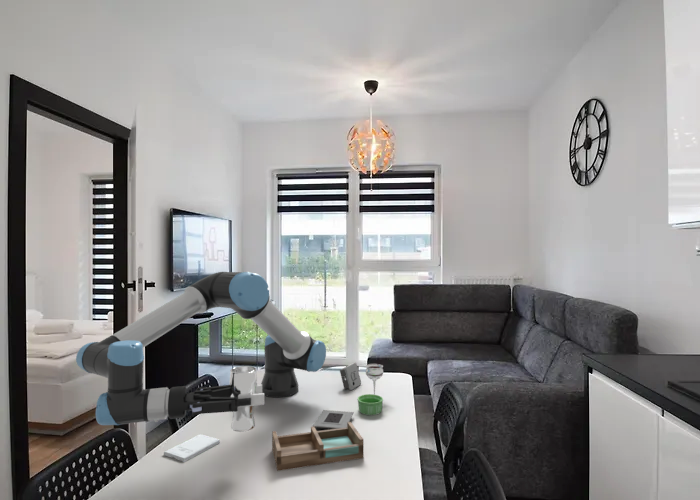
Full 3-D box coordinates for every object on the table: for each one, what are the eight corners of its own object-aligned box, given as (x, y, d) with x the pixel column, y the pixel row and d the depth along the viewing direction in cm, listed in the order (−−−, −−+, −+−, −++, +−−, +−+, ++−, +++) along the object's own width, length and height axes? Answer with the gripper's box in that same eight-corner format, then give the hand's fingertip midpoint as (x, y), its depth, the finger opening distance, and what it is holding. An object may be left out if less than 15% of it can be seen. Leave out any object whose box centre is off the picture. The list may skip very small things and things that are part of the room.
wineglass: (371, 393, 161) (371, 362, 161) (386, 396, 157) (386, 365, 157) (362, 398, 155) (362, 366, 155) (377, 401, 151) (377, 369, 152)
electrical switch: (351, 391, 164) (349, 367, 164) (340, 390, 166) (338, 367, 167) (361, 384, 172) (359, 362, 173) (351, 383, 174) (349, 362, 175)
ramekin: (357, 406, 147) (357, 393, 148) (382, 406, 147) (382, 394, 147) (357, 415, 139) (357, 402, 139) (383, 416, 138) (383, 403, 138)
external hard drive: (219, 444, 118) (184, 464, 107) (199, 439, 122) (163, 456, 111) (219, 439, 118) (184, 457, 107) (199, 433, 122) (163, 450, 111)
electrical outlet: (345, 435, 124) (345, 427, 124) (312, 432, 126) (312, 424, 126) (353, 418, 137) (353, 411, 137) (323, 416, 139) (323, 409, 139)
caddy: (272, 449, 114) (272, 431, 114) (350, 438, 121) (350, 421, 121) (277, 471, 102) (277, 451, 103) (363, 458, 109) (363, 439, 109)
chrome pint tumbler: (232, 421, 110) (232, 366, 110) (258, 421, 110) (258, 365, 110) (226, 433, 103) (226, 373, 103) (254, 432, 103) (254, 372, 103)
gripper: (174, 404, 111) (260, 396, 117) (162, 434, 92) (266, 423, 98) (174, 376, 111) (260, 370, 117) (162, 401, 92) (266, 391, 98)
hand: (263, 394), depth 108 cm, fingers closed on chrome pint tumbler, 6 cm apart
